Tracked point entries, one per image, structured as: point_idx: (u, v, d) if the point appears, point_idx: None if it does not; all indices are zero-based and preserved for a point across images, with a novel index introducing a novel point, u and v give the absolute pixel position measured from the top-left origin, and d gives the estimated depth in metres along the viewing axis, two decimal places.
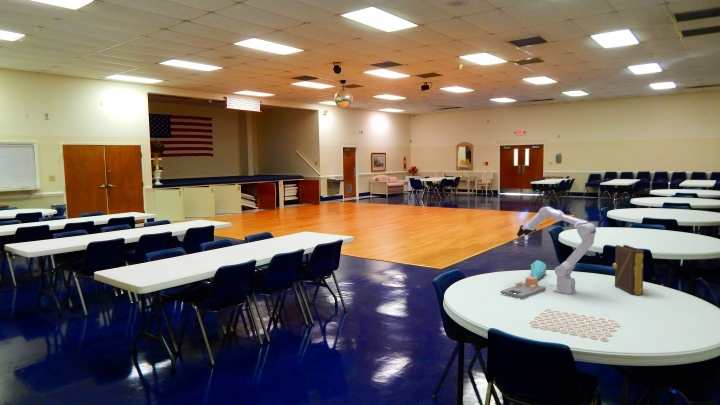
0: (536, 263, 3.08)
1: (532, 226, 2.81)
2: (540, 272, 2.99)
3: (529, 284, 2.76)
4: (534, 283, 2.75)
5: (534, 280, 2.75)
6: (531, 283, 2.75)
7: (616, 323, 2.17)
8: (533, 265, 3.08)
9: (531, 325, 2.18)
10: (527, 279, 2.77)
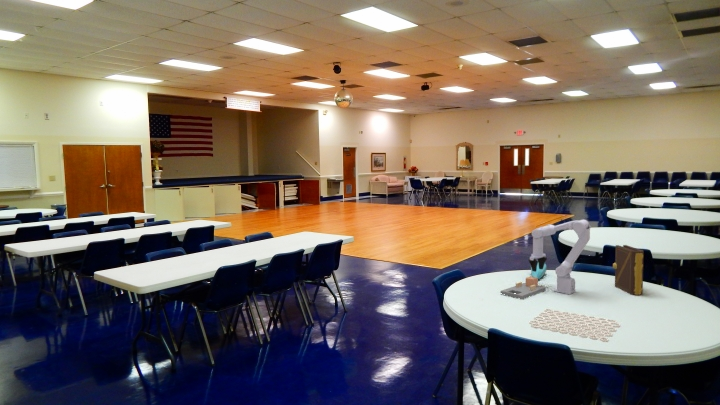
0: None
1: (538, 253, 2.78)
2: (540, 272, 2.99)
3: (529, 284, 2.76)
4: (534, 283, 2.75)
5: (534, 280, 2.75)
6: (531, 283, 2.75)
7: (616, 323, 2.17)
8: None
9: (531, 325, 2.18)
10: (527, 279, 2.77)
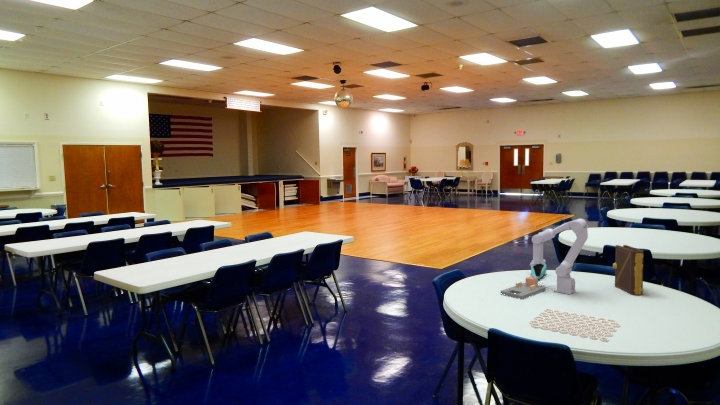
0: None
1: (538, 259, 2.78)
2: None
3: (529, 284, 2.76)
4: (534, 283, 2.75)
5: (534, 280, 2.75)
6: (531, 283, 2.75)
7: (616, 323, 2.17)
8: None
9: (531, 325, 2.18)
10: (527, 279, 2.77)
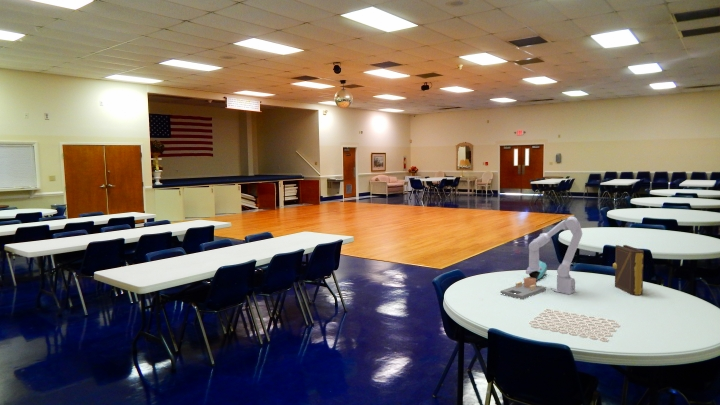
0: None
1: (534, 266, 2.76)
2: (540, 272, 2.99)
3: (527, 285, 2.75)
4: (532, 284, 2.74)
5: (532, 281, 2.74)
6: (529, 284, 2.74)
7: (616, 323, 2.17)
8: None
9: (531, 325, 2.18)
10: (525, 279, 2.76)
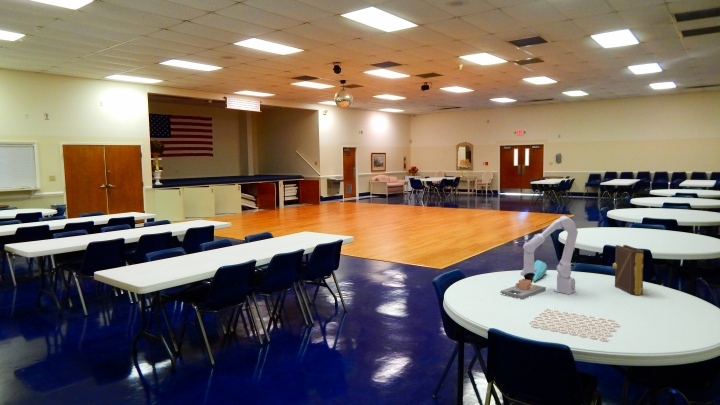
0: (536, 263, 3.08)
1: (529, 268, 2.72)
2: (540, 272, 2.99)
3: (522, 286, 2.72)
4: (527, 285, 2.71)
5: (527, 282, 2.70)
6: (524, 286, 2.71)
7: (616, 323, 2.17)
8: None
9: (531, 325, 2.18)
10: (520, 281, 2.72)
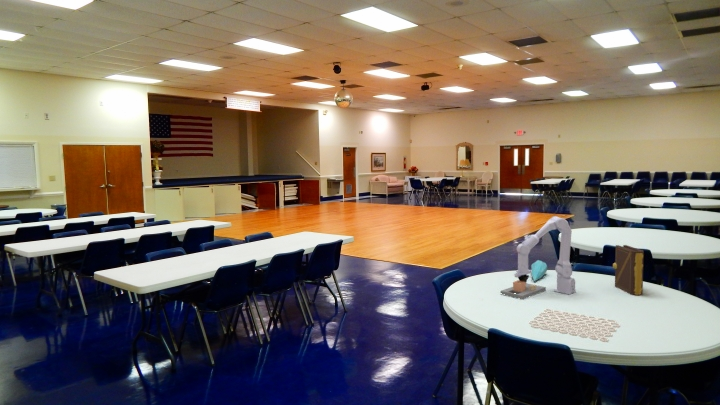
0: (536, 263, 3.08)
1: (523, 270, 2.68)
2: (540, 272, 2.99)
3: (517, 288, 2.68)
4: (522, 287, 2.67)
5: (522, 284, 2.67)
6: (518, 288, 2.67)
7: (616, 323, 2.17)
8: (533, 265, 3.08)
9: (531, 325, 2.18)
10: (514, 283, 2.69)
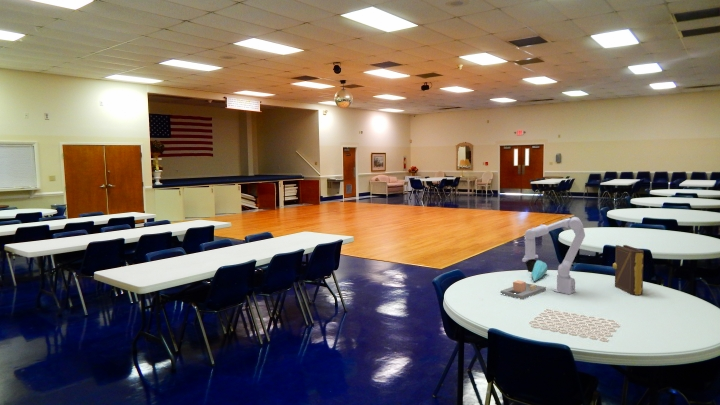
0: (537, 263, 3.08)
1: (530, 254, 2.75)
2: (540, 272, 2.99)
3: (517, 288, 2.68)
4: (522, 287, 2.67)
5: (522, 284, 2.67)
6: (518, 288, 2.67)
7: (616, 323, 2.17)
8: (534, 265, 3.08)
9: (531, 325, 2.18)
10: (515, 283, 2.69)
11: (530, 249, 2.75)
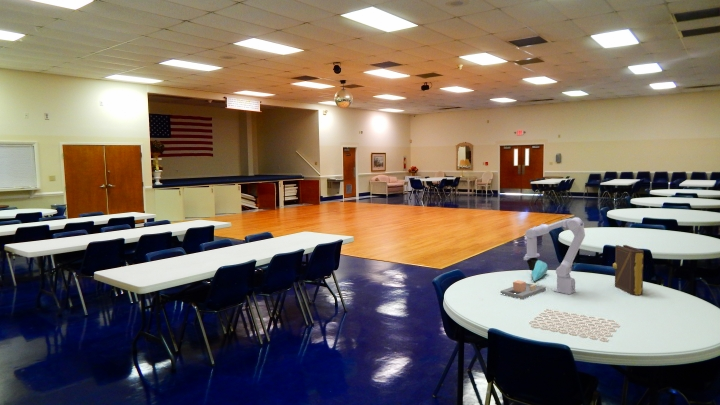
0: (537, 263, 3.08)
1: (532, 253, 2.79)
2: (540, 272, 2.99)
3: (517, 288, 2.68)
4: (522, 287, 2.67)
5: (522, 284, 2.67)
6: (518, 288, 2.67)
7: (616, 323, 2.17)
8: None
9: (531, 325, 2.18)
10: (515, 283, 2.69)
11: (530, 248, 2.79)
